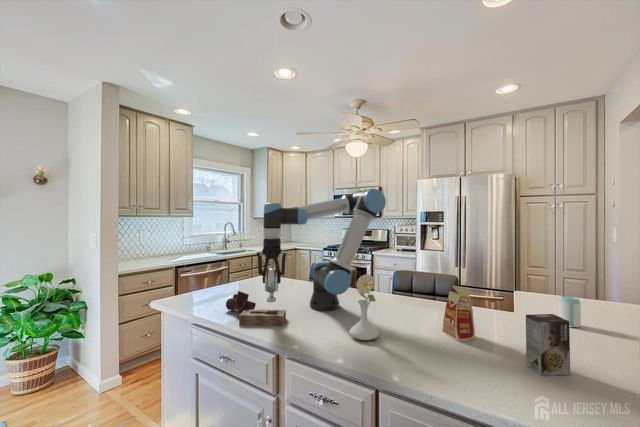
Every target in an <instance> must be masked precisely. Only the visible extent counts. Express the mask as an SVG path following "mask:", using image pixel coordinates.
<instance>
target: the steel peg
mask: <svg viewBox="0 0 640 427" xmlns="http://www.w3.org/2000/svg"><path fill="white" fill-rule="evenodd" d="M266 275H267V291H266V292H267V293H269V296H268V297H267V298H266V302H267V303H275V302H276V301H277V297H275V296H274V293H277V292H276V291H275V277H276V276H277V272H276V268H268V269H267V274H266Z"/></svg>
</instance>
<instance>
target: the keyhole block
mask: <svg viewBox="0 0 640 427" xmlns="http://www.w3.org/2000/svg"><path fill="white" fill-rule="evenodd" d="M286 319H287V309H255V308H254V309H245V310H244V311H243V312H242V313H239V315H238V320H239V323H238V325H240V326H241V325H244V326H248V325H249V326H284V324H285V322H286Z"/></svg>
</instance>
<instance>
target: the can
mask: <svg viewBox="0 0 640 427" xmlns="http://www.w3.org/2000/svg"><path fill="white" fill-rule="evenodd" d="M581 305H582V304H581V301H580V300H579V298H578V297H576V296H570V295H560V298H559V299H558V316H559V317H561V318H563V319H565V320H567V321H569V326H571V327H578V328H580V327H581V325H582V324H581V322H582V321H581V320H582V318H581V314H582V313H581V312H582V311H581V307H582V306H581ZM571 327H570V328H571Z"/></svg>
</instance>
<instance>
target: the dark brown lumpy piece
mask: <svg viewBox="0 0 640 427" xmlns="http://www.w3.org/2000/svg"><path fill="white" fill-rule="evenodd" d="M249 296H250V294H248V293H246V292H243V291H239V290H238V291H237V293H234V294H233V295H232V297H231V298H228V299H227V300H226V302H225V307H226V309H227V310H228V311H234V310H236V311H238V313H239V314H241V313H242V312H243V311H244V310H245V309H255V308H256V305H257V303H256V302H253V301H250V300H249Z"/></svg>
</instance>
